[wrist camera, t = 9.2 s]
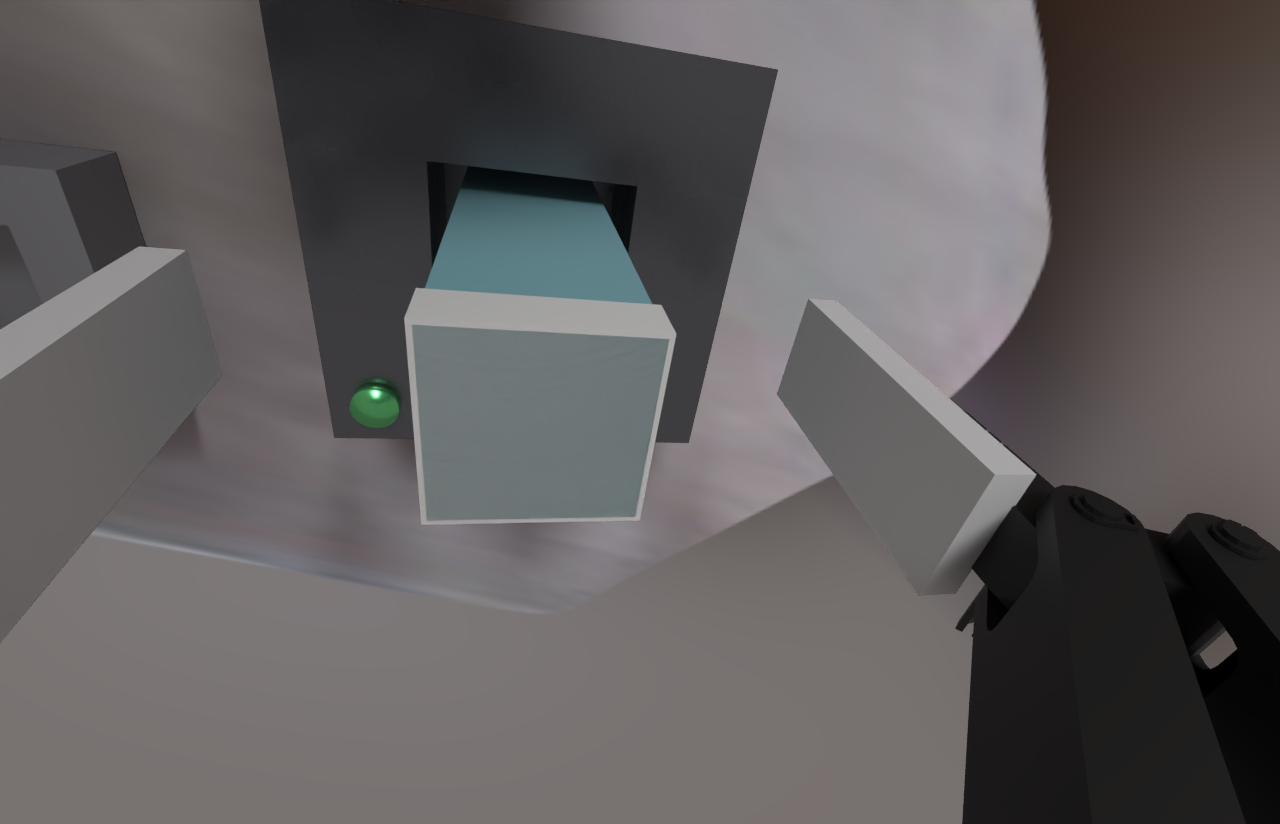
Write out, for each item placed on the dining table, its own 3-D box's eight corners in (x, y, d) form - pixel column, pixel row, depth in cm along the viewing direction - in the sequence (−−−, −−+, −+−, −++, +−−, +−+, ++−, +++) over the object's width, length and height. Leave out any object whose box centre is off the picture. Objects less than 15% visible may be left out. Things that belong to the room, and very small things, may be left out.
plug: (464, 162, 18) (404, 318, 8) (594, 177, 19) (676, 333, 9) (467, 286, 20) (421, 524, 11) (583, 295, 21) (639, 520, 12)
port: (339, -7, 18) (247, -25, 12) (704, 58, 20) (783, 70, 14) (377, 340, 24) (331, 445, 18) (652, 354, 27) (691, 449, 21)
